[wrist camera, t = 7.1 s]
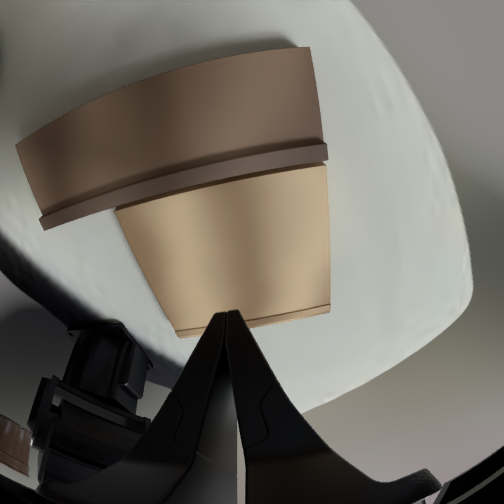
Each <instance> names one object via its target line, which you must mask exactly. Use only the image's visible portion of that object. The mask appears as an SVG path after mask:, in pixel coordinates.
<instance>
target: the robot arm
mask: <svg viewBox="0 0 504 504" xmlns="http://www.w3.org/2000/svg"><path fill="white" fill-rule="evenodd" d="M66 333H67V335H68V336H69V337H70V339H71V340H72V341H73V342H74V343H75V346H74V348H73V351H72V354H71V357H70V359H69V362H68V365H67V367H66V370H65V373H64V376H63V379H62V381H61V380H59V378H58V377H56V376H55V375H53V376H52V378H51V379H49V378H44V377H42V379H41V382H40V385H39V388H38V391H37V394H36V396H35V399H34V403H33V406H32V409H31V413H30V416H29V419H28V423H27V425H28V427H29V429H30V431H31V433H32V435H31V438H32V439H33V443H32V448H34V449H36V450H38V451H39V455H38V481H39V483H40V485H38V487H37V488H36V490H33V489H31V488H29V487H26V486H24V485H22V484H20V483H18V482H15V481H13V480H11V479H9V478H7V477H5V476H3V475H1V474H0V504H237V477H236V476H237V420H238V425H239V431H240V436H241V441H242V447H243V450H244V457H245V466H246V484H245V486H246V487H245V490H246V491H245V493H246V494H245V504H426V503H425V498H427V497H429V496H430V495H432V494H434V493H436V492H437V491H439V490H440V489H441V488H442V490H441V491H440V493H439V494H438V496H437V498H436V500H435V502H434V503H433V504H504V446H502V447H501V448H499V449H498V450H496V451H495V452H494V453H492V454H491V455H490V456H488V457H487V458H485V459H484V460H482V461H481V462H479V463H478V464H476V465H475V466H473V467H472V468H470V469H468V470H467V471H465V472H463V473H462V474H460V475H458V476H457V477H455V478H453V479H451V480H450V481H448V482H446V483H444V485H443V487H442V485H441V483H440V482H439V481H438V480H437V479H436V478H435V477H434V476H433V475H432V474H431V473H430V471H429V470H428V469H422V470H419V471H417V472H415V473H412V474H410V475H408V476H405V477H403V478H400V479H398V480H395V481H392V482H379V481H375V480H373V479H371V478H370V477H368V476H367V475H366V474H364V473H363V472H361V471H360V470H358V469H357V468H356V467H354V466H353V465H352V464H350V463H349V462H347V461H346V460H345V459H344V458H342V457H341V456H340V455H338V454H337V453H336V452H335V451H333V450H332V449H331V448H330V447H329V446H328V445H327V444H326V443H325V442H324V441H323V439H321V437H320V436H319V435H318V434H317V433H316V432H315V430H314V429H313V428H312V427H311V426H310V425H309V424H308V422H307V421H306V420H305V419H304V417H303V416H302V415H301V414H300V413H299V411H298V410H297V409H296V408H295V406H294V405H293V404H292V402H291V401H290V399H289V398H288V396H287V395H286V393H285V392H284V390H283V388H282V387H281V385H280V383H279V381H278V380H277V378H276V376H275V375H274V373H273V371H272V369H271V368H270V366H269V364H268V362H267V360H266V359H265V357H264V355H263V353H262V351H261V350H260V348H259V346H258V344H257V342H256V340H255V339H254V337H253V335H252V333H251V331H250V329H249V328H248V326H247V324H246V322H245V320H244V318H243V316H242V315H241V313H240V311H239V310H238V309H234V310H228V311H227V312H226V311H222V312H216V313H214V315H213V316H212V318H211V320H210V322H209V324H208V325H207V327H206V329H205V331H204V332H203V334H202V336H201V338H200V340H199V341H198V343H197V345H196V347H195V349H194V350H193V352H192V354H191V356H190V357H189V359H188V361H187V363H186V365H185V366H184V368H183V370H182V372H181V374H180V375H179V377H178V379H177V381H176V383H175V384H174V386H173V388H172V390H171V391H172V392H170V393H169V395H168V397H167V399H166V400H165V402H164V404H163V405H162V407H161V409H160V410H159V412H158V413H157V415H156V416H155V418H154V419H153V421H152V422H151V419H149V418H146V417H140V416H137V415H135V414H136V407H137V401H138V399H141V398H142V397H143V391H144V384H145V379H146V373H147V371H151V370H152V369H153V364H152V363H151V362H150V360H149V359H148V358H147V356H146V355H145V354H144V353H143V351H142V350H141V349H140V347H139V346H138V345H137V343H136V342H135V341H134V339H133V338H132V336H131V335H130V334H129V332H128V331H127V329H126V328H125V327H124V326H123V325H122V324H120V323H112V324H103V325H93V326H82V327H71V328H68V329H67V332H66ZM52 401H54V402H55V403H57V404H59V406H58V407H57V406H55V405H54V404H52Z"/></svg>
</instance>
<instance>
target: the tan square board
mask: <svg viewBox="0 0 504 504" xmlns="http://www.w3.org/2000/svg"><path fill="white" fill-rule="evenodd" d="M114 212H115V214H116V217H117V219H118V221H119V223H120V226H121V228H122V230H123V232H124V235H125V237H126V239H127V241H128V243H129V245H130V247H131V249H132V252H133V254H134V256H135V258H136V260H137V262H138V264H139V266H140V268H141V270H142V272H143V274H144V276H145V278H146V280H147V281H148V283H149V285H150V287H151V289H152V291H153V293H154V295H155V296H156V298H157V300H158V302H159V304H160V306H161V307H162V309H163V311H164V313H165V314H166V316H167V318H168V320H169V321H170V323H171V325H172V327H173V328H174V330H175V333H176V335H177V336H178V337H179V338H187V337H195V336H202V334H203V332H204V331H205V329H206V327H207V325H208V324H209V322H210V320H211V318H212V316H213V315H214V313H216V312H222V311H226V312H227V311H228V310H234V309H238V310H239V311H240V313H241V315H242V316H243V318H244V320H245V322H246V324H247V326H248V328H254V327H260V326H266V325H271V324H276V323H282V322H287V321H292V320H297V319H302V318H306V317H311V316H316V315H320V314H325V313H329V312H330V309H331V304H330V280H331V270H330V223H329V201H328V185H327V171H326V165H325V164H324V163H323V162H322V161H319V162H312V163H305V164H299V165H293V166H287V167H281V168H275V169H269V170H264V171H259V172H253V173H248V174H243V175H238V176H233V177H229V178H224V179H219V180H215V181H210V182H206V183H202V184H197V185H193V186H189V187H185V188H181V189H177V190H173V191H169V192H165V193H161V194H158V195H154V196H150V197H147V198H143V199H140V200H136V201H133V202H129V203H126V204H122V205H119V206H118V207H117V209H116V210H115V211H114Z"/></svg>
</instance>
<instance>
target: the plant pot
mask: <svg viewBox="0 0 504 504" xmlns="http://www.w3.org/2000/svg"><path fill="white" fill-rule="evenodd" d="M31 435H32V434H31V433H30V432H29V431H28V430H26V429H24V428H21V427H20V425H19V424H17V423H15V422H13V421H12V420H11V419H9V418H6V417H5V416H1V415H0V463H2V464H4V465H5V466H7V467H9V468H11V469H12V470H14V471H16V472H18V473H21V474H23V475H25V476H27V477H29V476H28V471H29V466H28V460H29V451H30V443H31Z"/></svg>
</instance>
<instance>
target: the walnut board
mask: <svg viewBox="0 0 504 504" xmlns="http://www.w3.org/2000/svg"><path fill="white" fill-rule="evenodd" d="M15 146H16V149H17V152H18V155H19V158H20V161H21V164H22V166H23V169H24V172H25V174H26V177H27V180H28V182H29V185H30V187H31V190H32V192H33V194H34V197H35V199H36V201H37V204H38V206H39V208H40V210H41V213H42V215H43V216H42V217H41V218H40V219H39V221H40V223H41V225H42V227H43V229H44V231H45V230H48V229H51V228H53V227H56V226H59V225H61V224H64V223H67V222H70V221H73V220H76V219H79V218H82V217H85V216H88V215H91V214H94V213H97V212H100V211H103V210H106V209H109V208H113V207H116V206H119V205H122V204H126V203H129V202H133V201H136V200H140V199H143V198H147V197H150V196H154V195H158V194H161V193H165V192H169V191H173V190H177V189H181V188H185V187H189V186H193V185H197V184H202V183H206V182H210V181H215V180H219V179H224V178H229V177H233V176H238V175H243V174H248V173H253V172H259V171H264V170H269V169H275V168H281V167H287V166H293V165H299V164H305V163H312V162H319V161H326V160H328V151H327V144H326V143H325V142H324V141H323V132H322V124H321V115H320V108H319V100H318V93H317V87H316V80H315V74H314V68H313V62H312V57H311V51H310V47H297V48H285V49H275V50H267V51H259V52H253V53H246V54H240V55H235V56H229V57H224V58H219V59H215V60H210V61H206V62H202V63H198V64H194V65H190V66H186V67H183V68H179V69H176V70H172V71H169V72H166V73H162V74H159V75H156V76H153V77H150V78H147V79H145V80H142V81H139V82H136V83H134V84H131V85H128V86H126V87H123V88H121V89H118V90H116V91H113V92H111V93H109V94H106V95H104V96H102V97H100V98H98V99H95V100H93V101H91V102H89V103H87V104H85V105H83V106H81V107H79V108H77V109H75V110H73V111H71V112H69V113H67V114H65V115H63V116H62V117H60V118H58V119H56V120H54V121H53V122H51V123H49V124H48V125H46V126H44V127H43V128H41V129H39V130H38V131H36V132H34V133H33V134H31V135H30V136H28V137H27V138H25V139H24V140H22V141H21V142H19V143H18V144H16V145H15Z"/></svg>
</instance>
